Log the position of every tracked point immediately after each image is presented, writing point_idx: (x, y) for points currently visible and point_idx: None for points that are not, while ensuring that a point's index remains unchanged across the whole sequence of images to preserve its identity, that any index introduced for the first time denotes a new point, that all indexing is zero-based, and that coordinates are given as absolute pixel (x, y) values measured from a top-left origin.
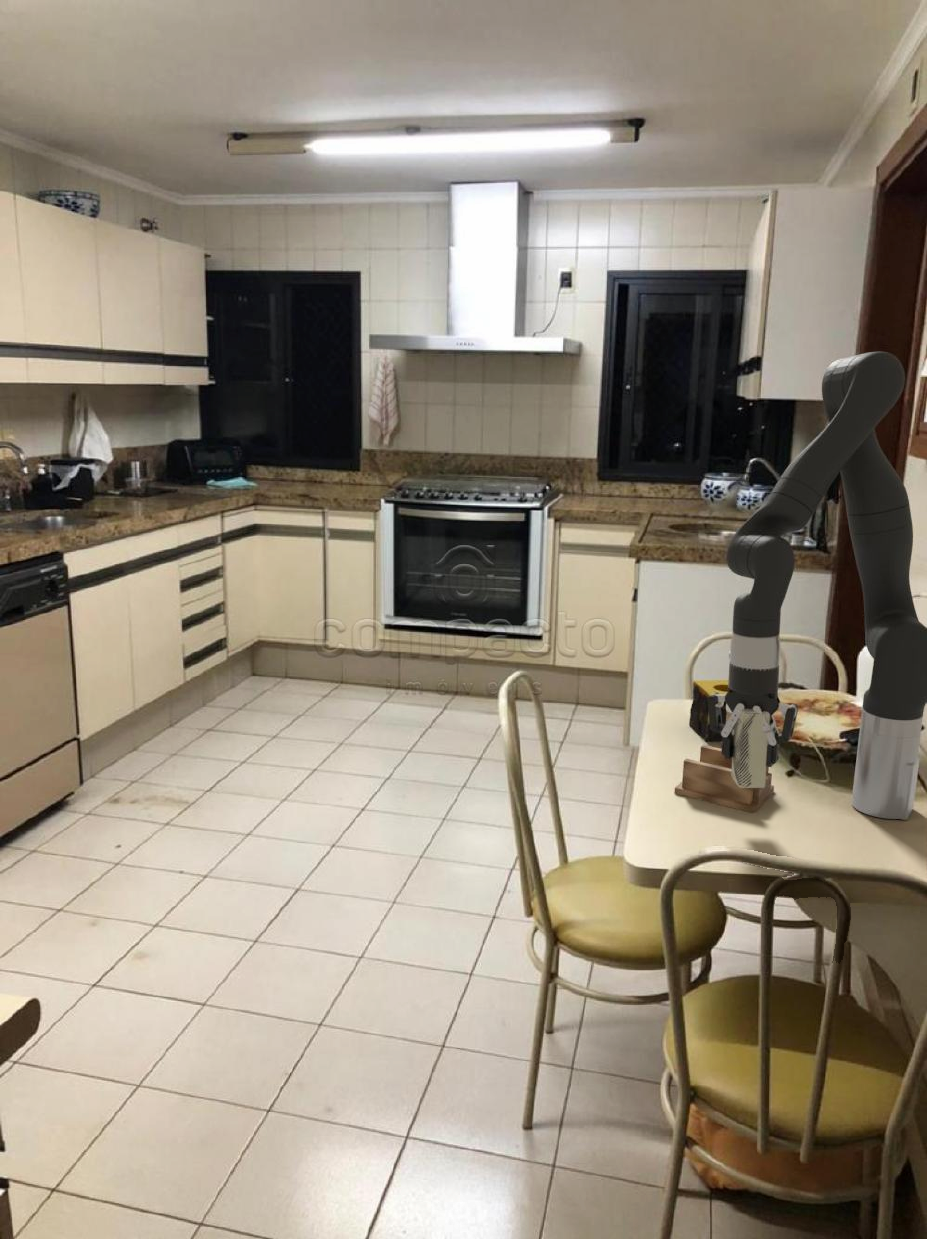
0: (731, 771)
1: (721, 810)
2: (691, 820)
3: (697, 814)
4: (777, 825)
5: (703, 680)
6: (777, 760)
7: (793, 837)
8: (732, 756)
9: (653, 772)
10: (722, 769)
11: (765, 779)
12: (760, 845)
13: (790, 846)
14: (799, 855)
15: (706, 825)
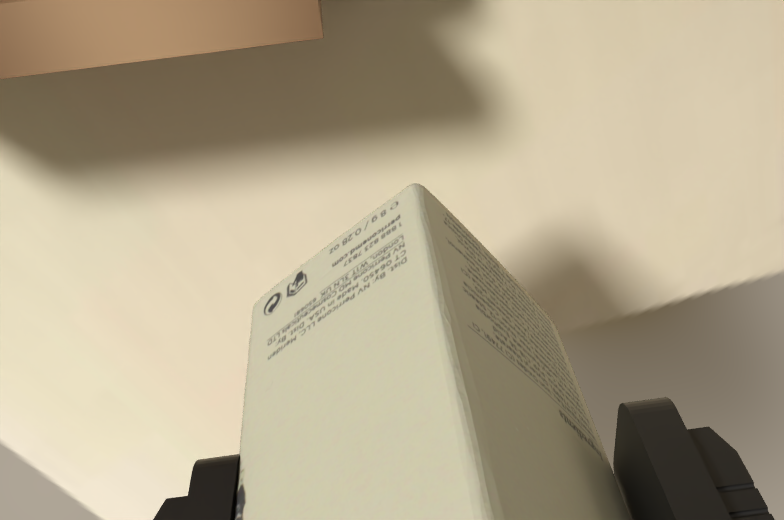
0: (112, 61)
1: (188, 85)
2: (156, 297)
3: (128, 223)
4: (547, 50)
5: None
6: (719, 442)
7: (659, 131)
8: (242, 452)
9: None
10: (21, 76)
11: (573, 372)
12: (537, 302)
13: (661, 227)
14: (711, 274)
15: (244, 295)
